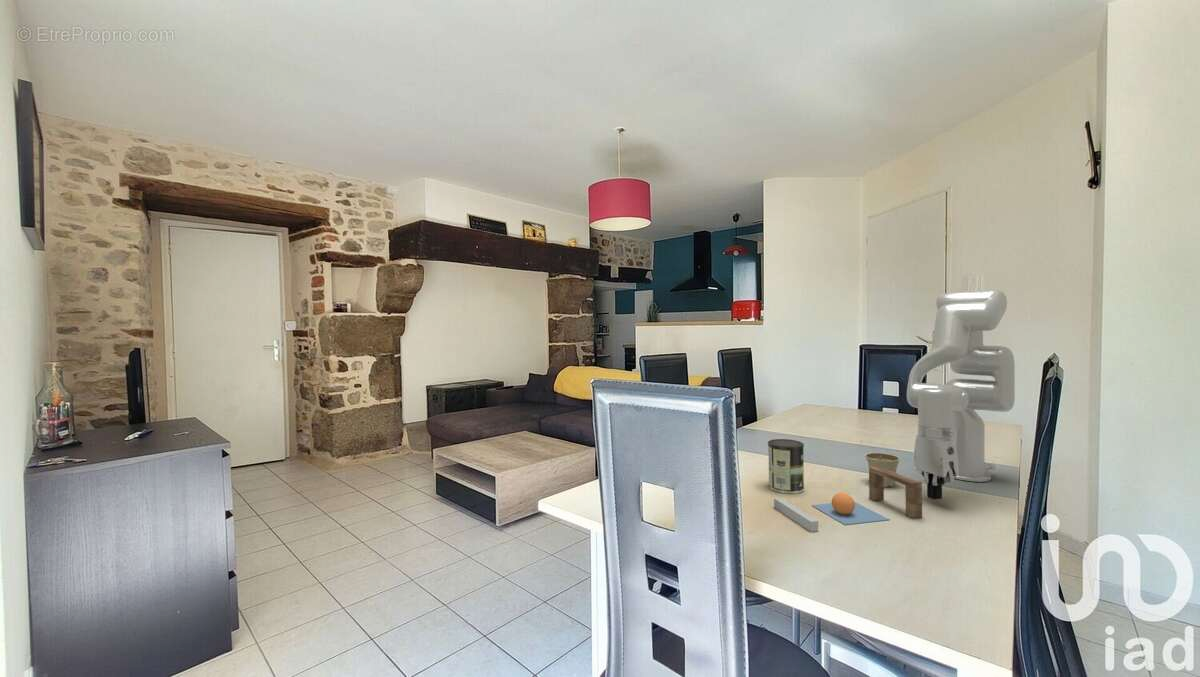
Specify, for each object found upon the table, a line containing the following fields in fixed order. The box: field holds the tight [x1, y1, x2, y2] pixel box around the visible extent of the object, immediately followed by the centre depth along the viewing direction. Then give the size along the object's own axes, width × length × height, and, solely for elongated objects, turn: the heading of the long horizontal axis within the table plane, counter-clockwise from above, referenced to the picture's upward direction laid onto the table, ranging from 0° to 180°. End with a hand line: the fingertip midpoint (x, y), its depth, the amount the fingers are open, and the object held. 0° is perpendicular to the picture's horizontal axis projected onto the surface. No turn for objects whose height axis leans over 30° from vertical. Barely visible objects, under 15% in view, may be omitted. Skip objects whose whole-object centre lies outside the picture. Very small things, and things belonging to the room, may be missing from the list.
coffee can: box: [767, 438, 805, 495], centre depth 144 cm, size 10×10×14 cm
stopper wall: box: [773, 497, 819, 533], centre depth 121 cm, size 2×16×2 cm, turn 11°
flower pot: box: [864, 452, 901, 488], centre depth 146 cm, size 9×9×9 cm
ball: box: [831, 492, 856, 515], centre depth 123 cm, size 6×6×6 cm
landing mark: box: [811, 501, 890, 526], centre depth 124 cm, size 13×13×1 cm
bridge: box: [868, 466, 923, 520], centre depth 127 cm, size 3×14×9 cm, turn 11°
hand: (934, 498), depth 129 cm, fingers closed
